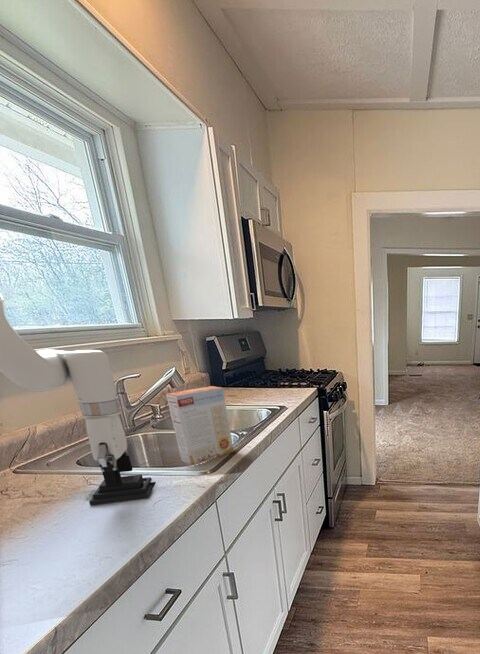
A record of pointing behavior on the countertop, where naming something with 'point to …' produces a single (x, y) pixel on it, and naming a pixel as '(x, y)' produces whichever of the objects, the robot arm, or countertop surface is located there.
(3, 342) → the robot arm
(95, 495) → the base pad
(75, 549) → the countertop surface
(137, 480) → the top pad
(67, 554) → the countertop surface
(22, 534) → the countertop surface
